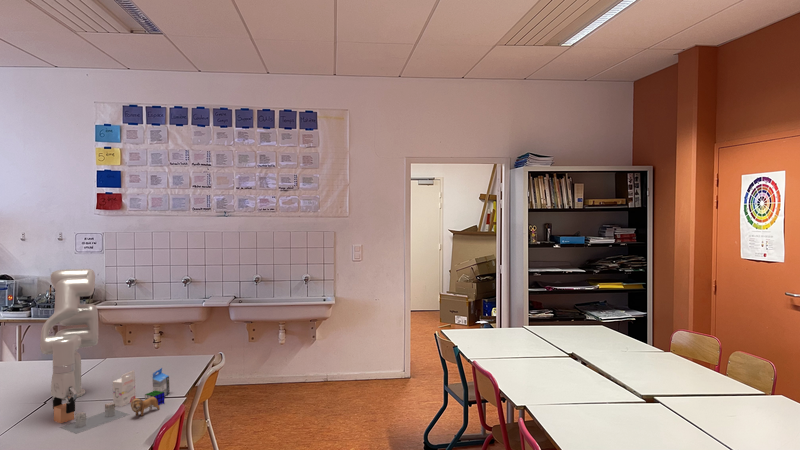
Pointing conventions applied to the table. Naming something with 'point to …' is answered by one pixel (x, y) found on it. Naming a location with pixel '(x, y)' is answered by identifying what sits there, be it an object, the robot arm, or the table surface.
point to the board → (94, 422)
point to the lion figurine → (143, 405)
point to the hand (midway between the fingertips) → (63, 410)
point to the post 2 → (109, 409)
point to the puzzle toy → (156, 396)
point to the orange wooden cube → (62, 414)
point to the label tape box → (161, 382)
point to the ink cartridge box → (124, 389)
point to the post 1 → (80, 419)
